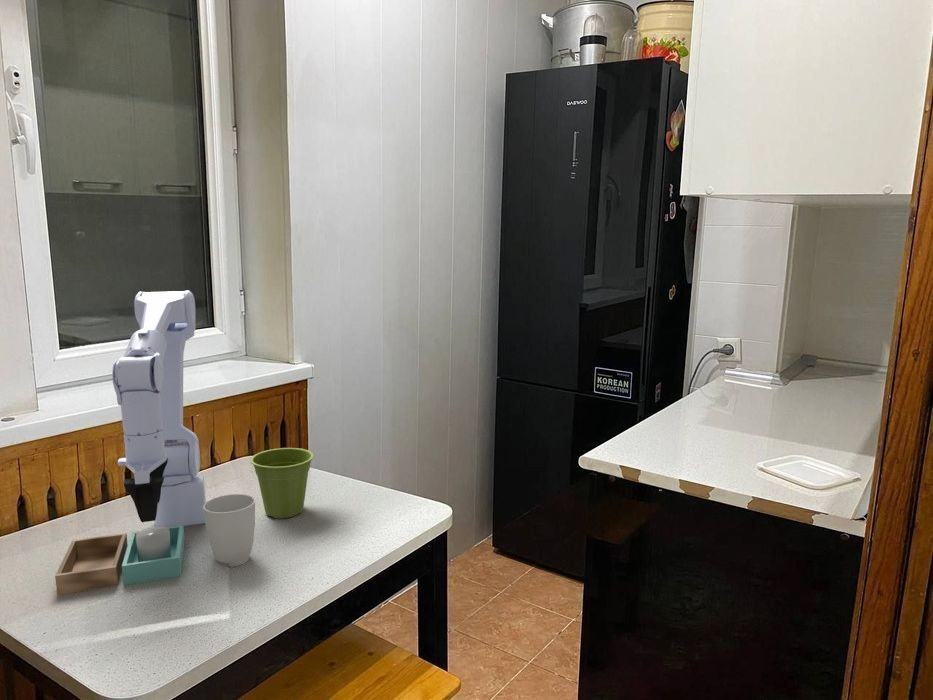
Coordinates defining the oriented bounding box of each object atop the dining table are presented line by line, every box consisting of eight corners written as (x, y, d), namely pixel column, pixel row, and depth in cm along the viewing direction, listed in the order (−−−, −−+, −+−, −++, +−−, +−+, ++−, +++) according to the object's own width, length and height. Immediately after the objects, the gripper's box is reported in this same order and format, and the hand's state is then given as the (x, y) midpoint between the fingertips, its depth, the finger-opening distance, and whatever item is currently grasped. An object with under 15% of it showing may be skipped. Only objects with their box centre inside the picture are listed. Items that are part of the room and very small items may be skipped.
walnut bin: (128, 553, 121) (126, 532, 120) (118, 590, 108) (115, 567, 108) (74, 561, 118) (72, 540, 117) (57, 599, 106) (55, 576, 105)
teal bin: (185, 545, 123) (183, 525, 123) (181, 580, 111) (179, 557, 111) (133, 553, 121) (131, 532, 120) (124, 589, 109) (121, 566, 108)
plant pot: (269, 529, 130) (265, 471, 128) (244, 510, 139) (240, 455, 137) (326, 513, 137) (324, 457, 135) (299, 496, 146) (297, 443, 144)
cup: (268, 552, 120) (264, 497, 119) (238, 574, 113) (234, 515, 111) (228, 546, 123) (224, 491, 121) (196, 567, 116) (192, 509, 114)
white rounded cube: (172, 552, 119) (170, 524, 118) (170, 565, 114) (167, 536, 113) (140, 557, 117) (137, 528, 117) (136, 570, 113) (133, 541, 112)
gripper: (121, 421, 118) (128, 499, 120) (108, 446, 104) (117, 533, 106) (167, 417, 120) (173, 493, 122) (160, 441, 106) (168, 526, 109)
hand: (150, 511), depth 115 cm, fingers open, 7 cm apart
